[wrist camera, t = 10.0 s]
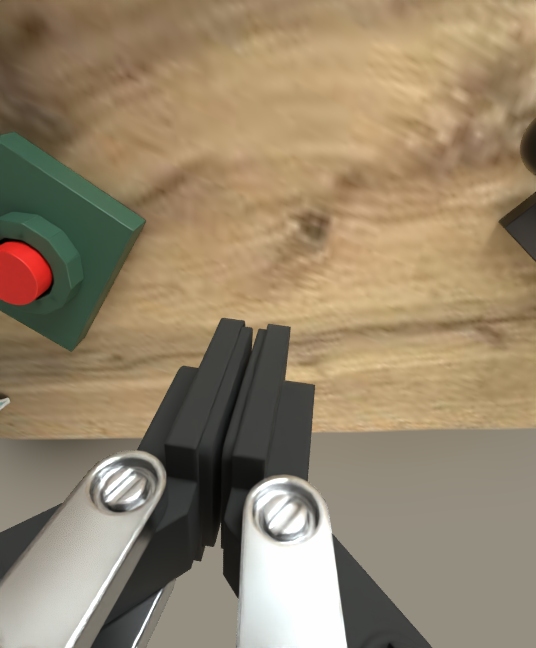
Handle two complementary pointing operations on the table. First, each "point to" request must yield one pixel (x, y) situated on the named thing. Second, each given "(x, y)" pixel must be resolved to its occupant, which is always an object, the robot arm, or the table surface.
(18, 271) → the button
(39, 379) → the table surface
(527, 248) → the lever bracket
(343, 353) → the table surface
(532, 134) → the lever
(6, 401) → the handheld gaming console
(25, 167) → the switch box
